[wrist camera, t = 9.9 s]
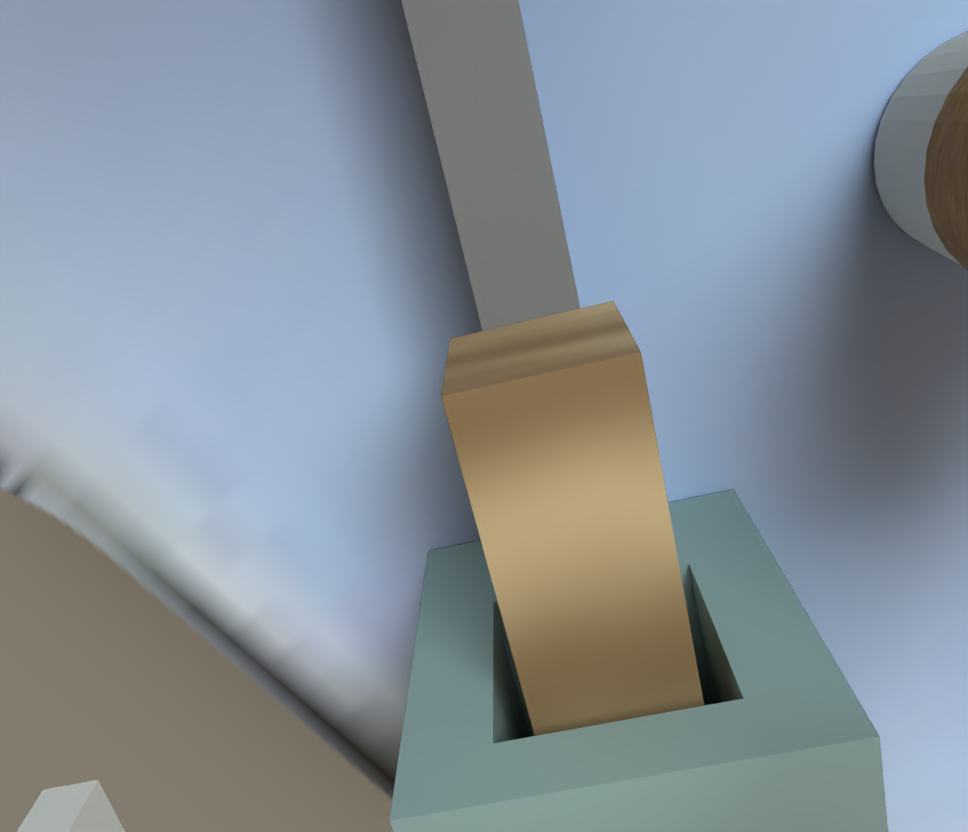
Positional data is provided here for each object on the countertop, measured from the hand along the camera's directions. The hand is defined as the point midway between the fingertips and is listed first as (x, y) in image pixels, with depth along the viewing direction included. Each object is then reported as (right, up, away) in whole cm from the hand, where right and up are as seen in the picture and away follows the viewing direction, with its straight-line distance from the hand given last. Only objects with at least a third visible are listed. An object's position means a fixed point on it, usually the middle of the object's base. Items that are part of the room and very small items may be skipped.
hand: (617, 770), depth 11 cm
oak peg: (+1, 0, +12) cm, 12 cm away
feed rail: (-2, +12, +12) cm, 18 cm away
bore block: (+2, -3, +18) cm, 18 cm away
